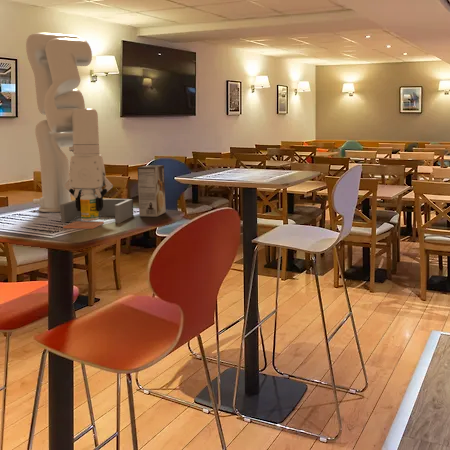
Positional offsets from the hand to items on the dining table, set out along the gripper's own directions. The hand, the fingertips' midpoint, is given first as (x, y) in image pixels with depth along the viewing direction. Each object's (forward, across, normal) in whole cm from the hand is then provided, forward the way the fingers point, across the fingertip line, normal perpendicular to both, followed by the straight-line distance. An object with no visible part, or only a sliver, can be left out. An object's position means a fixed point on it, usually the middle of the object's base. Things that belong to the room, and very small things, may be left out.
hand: (89, 209), depth 178 cm
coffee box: (+4, +15, +17) cm, 23 cm away
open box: (+4, 0, +6) cm, 8 cm away
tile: (+4, 0, -6) cm, 7 cm away
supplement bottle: (+3, 0, 0) cm, 3 cm away
